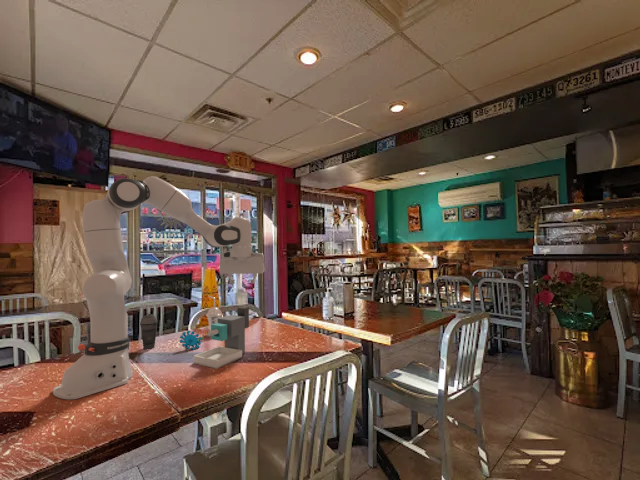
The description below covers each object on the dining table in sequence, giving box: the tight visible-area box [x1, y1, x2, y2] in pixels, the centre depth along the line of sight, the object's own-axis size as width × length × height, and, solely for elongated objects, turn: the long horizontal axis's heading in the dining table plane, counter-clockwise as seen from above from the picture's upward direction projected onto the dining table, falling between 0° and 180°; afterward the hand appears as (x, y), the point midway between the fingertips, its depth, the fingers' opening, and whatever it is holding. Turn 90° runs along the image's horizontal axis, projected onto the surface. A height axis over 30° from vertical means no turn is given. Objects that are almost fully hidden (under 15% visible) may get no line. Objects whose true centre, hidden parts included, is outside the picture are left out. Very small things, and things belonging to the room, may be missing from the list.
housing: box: [218, 314, 246, 355], centre depth 136 cm, size 8×8×16 cm
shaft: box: [206, 306, 250, 338], centre depth 135 cm, size 22×4×9 cm, turn 152°
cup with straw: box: [205, 295, 224, 331], centre depth 171 cm, size 8×9×20 cm
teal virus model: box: [179, 330, 204, 351], centre depth 146 cm, size 11×6×10 cm
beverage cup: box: [139, 304, 159, 350], centre depth 146 cm, size 7×7×20 cm
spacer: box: [210, 323, 227, 342], centre depth 130 cm, size 3×6×6 cm, turn 62°
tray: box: [192, 345, 243, 370], centre depth 129 cm, size 14×13×3 cm
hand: (242, 283), depth 143 cm, fingers open, 8 cm apart
